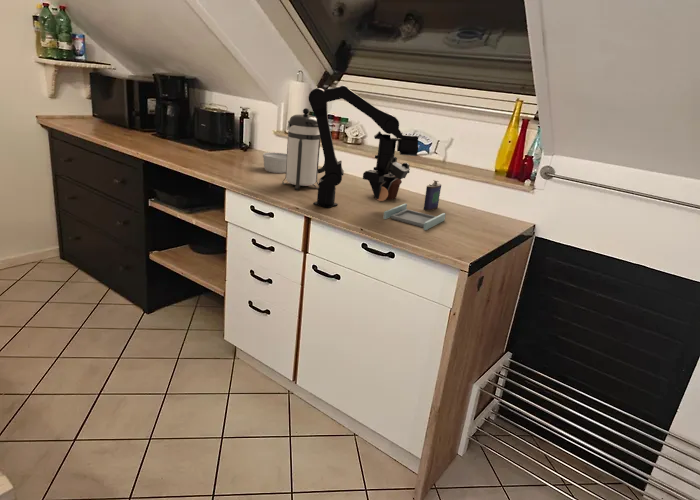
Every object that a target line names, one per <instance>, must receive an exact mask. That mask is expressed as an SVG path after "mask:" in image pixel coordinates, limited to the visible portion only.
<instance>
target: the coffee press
mask: <svg viewBox="0 0 700 500" xmlns="http://www.w3.org/2000/svg"><path fill="white" fill-rule="evenodd" d="M302 113H303V114H294V115H291V117H290V118H289V120H288V121H287V122H288V125H287V127H286V130H287V145H286V146H287V149H286V154H287V161H286V173H285V178H284V179H283V180H282V185H286V184H287V183H289V184H291V185H294V186H295V187H294V190H296V191H299V190H300V187H301V186H302V187H304V186H308V187H309V186H313V187H314V188H315V189H317V190H318V188H319V185H318V184H319V181H318V174H323V173H325V160H324V163H323V165H322V166H321V168H319V163H320V162H319V161H320V160H319V159H320V151H321V150H320V148H321V138H320V133H319V129H318V124H317V119H316V117H315V115H310V114H309V113H310V111H309V108H307V107H305V108H303V110H302ZM285 180H286V181H287V182H284V181H285ZM315 184H316V185H317V186H318V187H317V186H316V185H315Z"/></svg>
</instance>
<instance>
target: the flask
mask: <svg viewBox="0 0 700 500" xmlns="http://www.w3.org/2000/svg"><path fill="white" fill-rule="evenodd" d="M441 190H442V184H441V183H439V181H438V180H435V179H433V182H432V183H431V184H427V185H426V188H425V197H424V203H423V211H426V212H427V211H434V210H435V209H437V208H438V207H439V202H440V196H441V195H440V194H441Z"/></svg>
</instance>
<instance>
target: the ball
mask: <svg viewBox="0 0 700 500" xmlns="http://www.w3.org/2000/svg"><path fill="white" fill-rule="evenodd" d="M387 197H388V190H387V189H386V188H385V187H381V192H380V196H379V199H376V200H377V201H380V202H383V201H386V200H387V199H386V198H387Z"/></svg>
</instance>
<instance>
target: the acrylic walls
mask: <svg viewBox="0 0 700 500" xmlns="http://www.w3.org/2000/svg"><path fill="white" fill-rule="evenodd" d="M407 206H408V203H402V204H401V205H397V206H395V207H392V208H390V209H387V210H385V211H383V217H382V218H383V219H384V220H387V219H389V218H390V219H391V215H393V214H396V213H398V212H401V211H403V210H406V209H408V208H407ZM446 215H447V214H446V213H445V212H443V213H441V214H439V215H435V216H436V217H434V218H432V219H430V220H428V221H426V222H425V224H424V227H423V231H427V230H429V229H431V228H433V227H434V226H437V225H439V224H440V223H442V222H444V221H445V219H446Z"/></svg>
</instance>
